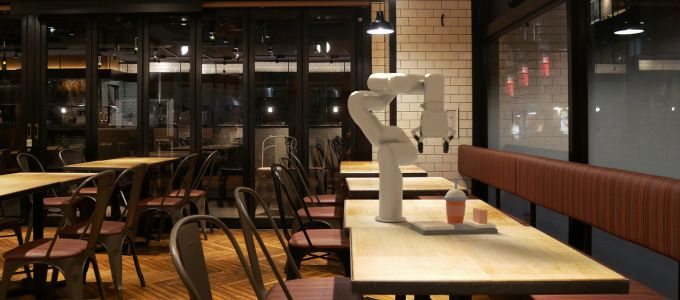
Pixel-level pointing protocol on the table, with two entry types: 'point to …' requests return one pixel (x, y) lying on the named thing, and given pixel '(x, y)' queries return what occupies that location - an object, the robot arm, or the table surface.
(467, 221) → the salmon brown block
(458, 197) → the cup with straw
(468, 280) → the table surface
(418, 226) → the grey flat block
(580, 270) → the table surface
